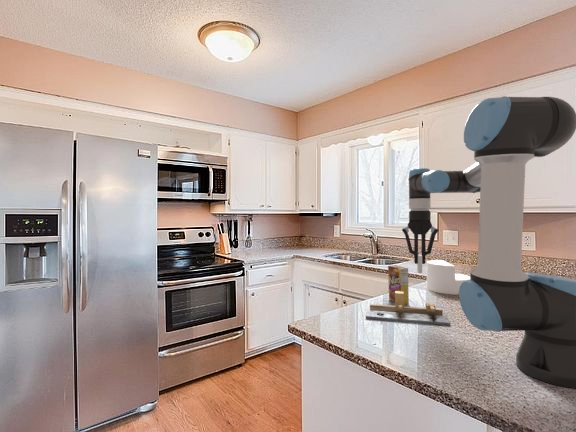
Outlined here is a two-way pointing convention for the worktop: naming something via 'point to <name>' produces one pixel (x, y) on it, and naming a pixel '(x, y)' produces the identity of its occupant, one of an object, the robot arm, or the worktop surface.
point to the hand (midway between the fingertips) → (419, 272)
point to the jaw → (399, 301)
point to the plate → (408, 317)
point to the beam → (409, 309)
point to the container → (444, 277)
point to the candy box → (398, 282)
